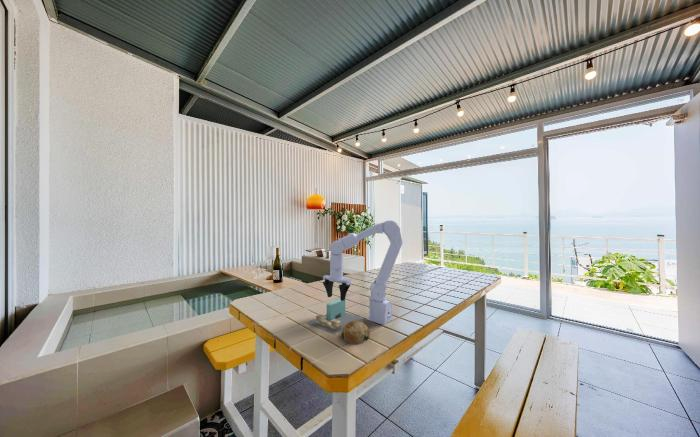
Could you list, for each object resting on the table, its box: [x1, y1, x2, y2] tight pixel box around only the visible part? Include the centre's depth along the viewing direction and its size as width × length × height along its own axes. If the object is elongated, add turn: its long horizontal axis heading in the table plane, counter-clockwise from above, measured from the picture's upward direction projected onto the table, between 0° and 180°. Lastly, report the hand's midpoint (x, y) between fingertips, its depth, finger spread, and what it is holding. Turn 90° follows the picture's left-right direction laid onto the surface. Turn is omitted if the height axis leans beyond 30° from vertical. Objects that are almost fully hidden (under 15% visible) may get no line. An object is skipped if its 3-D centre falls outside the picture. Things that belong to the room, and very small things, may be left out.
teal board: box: [326, 298, 346, 322], centre depth 109 cm, size 2×10×7 cm, turn 142°
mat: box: [305, 311, 364, 335], centre depth 105 cm, size 16×20×1 cm
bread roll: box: [340, 320, 371, 345], centre depth 90 cm, size 10×10×8 cm
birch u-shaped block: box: [315, 313, 341, 330], centre depth 100 cm, size 12×2×3 cm, turn 53°
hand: (336, 298), depth 109 cm, fingers open, 7 cm apart
